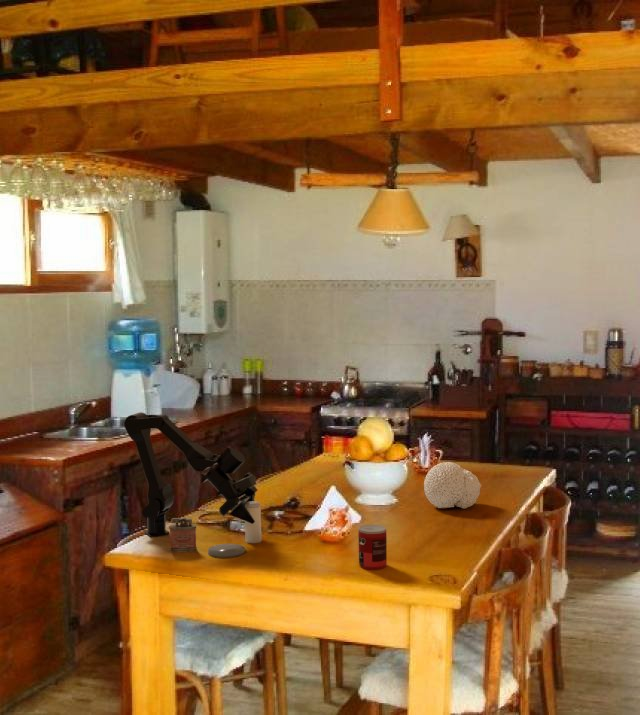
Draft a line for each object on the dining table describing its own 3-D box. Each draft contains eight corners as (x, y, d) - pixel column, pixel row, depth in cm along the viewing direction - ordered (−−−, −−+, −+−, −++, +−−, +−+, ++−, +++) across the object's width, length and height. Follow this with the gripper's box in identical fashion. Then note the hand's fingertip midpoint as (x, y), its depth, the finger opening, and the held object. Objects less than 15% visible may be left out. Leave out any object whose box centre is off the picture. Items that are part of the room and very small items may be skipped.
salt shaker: (242, 540, 304) (241, 502, 303) (256, 537, 306) (255, 500, 305) (249, 544, 299) (248, 505, 298) (264, 541, 302) (263, 503, 301)
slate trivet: (202, 550, 294) (202, 547, 293) (235, 544, 299) (235, 541, 299) (217, 560, 284) (217, 556, 284) (251, 553, 290) (251, 550, 290)
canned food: (362, 560, 281) (361, 523, 280) (389, 562, 279) (389, 525, 278) (355, 568, 274) (355, 530, 273) (383, 571, 272) (383, 532, 271)
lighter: (197, 548, 296) (196, 515, 295) (196, 551, 293) (195, 518, 292) (170, 548, 296) (169, 516, 295) (169, 552, 293) (168, 519, 292)
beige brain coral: (438, 492, 326) (444, 449, 335) (410, 506, 340) (416, 465, 348) (487, 512, 332) (491, 469, 341) (457, 526, 346) (462, 484, 355)
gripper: (227, 472, 293) (262, 511, 291) (251, 460, 311) (284, 496, 308) (204, 496, 296) (239, 535, 294) (229, 483, 314) (261, 519, 311)
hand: (257, 520), depth 302 cm, fingers closed on salt shaker, 5 cm apart
